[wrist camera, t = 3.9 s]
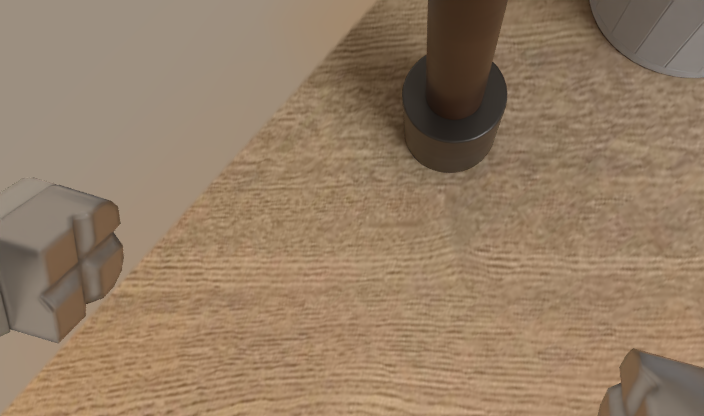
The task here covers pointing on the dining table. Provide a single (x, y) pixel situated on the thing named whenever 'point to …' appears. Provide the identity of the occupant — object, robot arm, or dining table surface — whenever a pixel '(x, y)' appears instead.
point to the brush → (456, 86)
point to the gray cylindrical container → (656, 33)
